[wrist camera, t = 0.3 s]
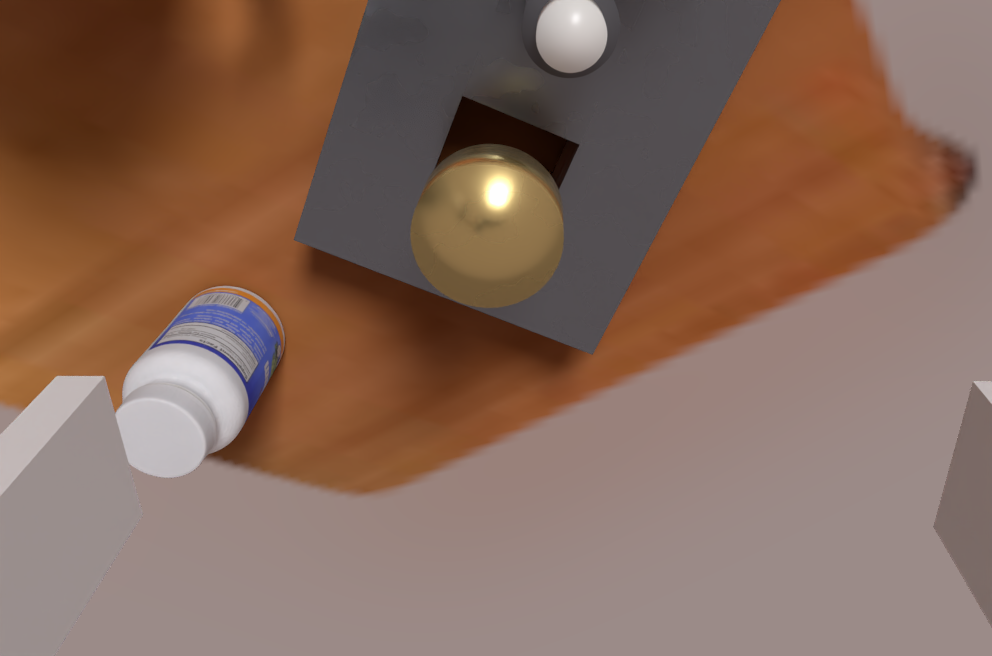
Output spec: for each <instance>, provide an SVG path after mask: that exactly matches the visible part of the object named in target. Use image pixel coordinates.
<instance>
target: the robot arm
mask: <svg viewBox="0 0 992 656" xmlns="http://www.w3.org/2000/svg"><path fill="white" fill-rule="evenodd" d="M142 515H143V513H142V509H141V506H140V502H139V498H138V495H137V491H136V488H135V484H134V480H133V477H132V473H131V470H130V467H129V462H128V459H127V455H126V452H125V448H124V444H123V441H122V437H121V434H120V430H119V426H118V423H117V419H116V416H115V412H114V408H113V405H112V401H111V398H110V394H109V390H108V387H107V383H106V380H105V376H56V377H55V379H54V380H53V381H52V382H51V383H50V384H49V385H48V386H47V387H46V388H45V389H44V390H43V391H42V392H41V393H40V394H39V395H38V396H37V397H36V398H35V399H34V400H33V401H32V402H31V403H30V404H29V406H28V407H27V408H26V409H25V410H24V411H23V412H22V413H21V414H20V415H19V416H18V417H17V418H16V419H15V420H14V421H13V422H12V423H11V424H10V425H9V426H8V428H6V429H5V430H4V432H3V433H2V434H1V435H0V656H55V654H56V653H57V651H58V650H59V648H60V646H61V645H62V643H63V642H64V640H65V639H66V637H67V635H68V634H69V632H70V630H71V629H72V627H73V626H74V624H75V622H76V621H77V619H78V618H79V616H80V614H81V613H82V611H83V610H84V608H85V606H86V605H87V603H88V602H89V600H90V598H91V597H92V595H93V594H94V592H95V590H96V589H97V587H98V585H99V584H100V582H101V581H102V579H103V578H104V576H105V574H106V573H107V571H108V570H109V568H110V566H111V565H112V563H113V562H114V560H115V558H116V557H117V555H118V554H119V552H120V550H121V549H122V547H123V546H124V544H125V542H126V541H127V539H128V538H129V536H130V534H131V533H132V531H133V530H134V528H135V526H136V525H137V523H138V522H139V520H140V518H141V517H142ZM934 529H935V530H936V532H937V534H938V536H939V537H940V539H941V541H942V542H943V544H944V546H945V548H946V549H947V551H948V553H949V554H950V556H951V558H952V560H953V561H954V563H955V565H956V566H957V568H958V570H959V572H960V573H961V575H962V577H963V579H964V580H965V582H966V584H967V585H968V587H969V589H970V591H971V592H972V594H973V596H974V597H975V599H976V601H977V603H978V604H979V606H980V608H981V610H982V611H983V613H984V615H985V616H986V618H987V620H988V622H989V623H990V625H991V627H992V381H973V383H972V387H971V391H970V394H969V398H968V402H967V405H966V409H965V413H964V416H963V420H962V424H961V427H960V431H959V435H958V438H957V442H956V446H955V449H954V453H953V457H952V460H951V464H950V468H949V471H948V476H947V479H946V482H945V486H944V490H943V494H942V497H941V501H940V505H939V508H938V512H937V515H936V519H935V523H934Z"/></svg>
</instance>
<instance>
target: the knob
mask: <svg viewBox="0 0 992 656" xmlns="http://www.w3.org/2000/svg"><path fill="white" fill-rule="evenodd" d="M410 239H411V246H412V251H413V254H414V258H415V260H416V262H417V265H418V266H419V268H420V270H421V272H422V273H423V275H424V276H425V277H426V278H427V280H428V281H429V282H430V283H431V284H432V285H433V286H434V287H435V288H436V289H437V290H439V291H440V292H441V293H443V294H444V295H446V296H448V297H449V298H451V299H453V300H455V301H457V302H460V303H463V304H466V305H469V306H474V307H482V308H498V307H504V306H509V305H512V304H516V303H518V302H521V301H523V300H525V299H527V298H529V297H530V296H532V295H534V294H535V293H536V292H537V291H539V290H540V289H541V288H542V287H543V286H544V285H545V284H546V283H547V282H548V281H549V279H550V278H551V277H552V275H553V274H554V272H555V270H556V269H557V267H558V264H559V262H560V259H561V255H562V251H563V243H564V229H563V205H562V200H561V195H560V192H559V189H558V187H557V185H556V183H555V181H554V179H553V178H552V176H551V175H550V173H549V172H548V171H547V170H546V169H545V167H544V166H543V165H542V164H541V163H539V162H538V161H537V160H536V159H535V158H533V157H532V156H530V155H529V154H527V153H525V152H523V151H521V150H519V149H516V148H513V147H510V146H505V145H500V144H480V145H474V146H470V147H467V148H464V149H461V150H459V151H457V152H455V153H453V154H452V155H450V156H449V157H447V158H446V159H444V160H443V161H442V162H441V163H440V164H439V165H438V166H437V167H436V168H435V169H434V171H433V172H432V173H431V175H430V176H429V178H428V180H427V182H426V184H425V186H424V189H423V191H422V194H421V196H420V199H419V201H418V204H417V206H416V209H415V211H414V214H413V218H412V223H411V233H410Z"/></svg>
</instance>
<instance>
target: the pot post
mask: <svg viewBox="0 0 992 656" xmlns="http://www.w3.org/2000/svg"><path fill="white" fill-rule="evenodd" d="M521 31H522V39H523V43H524V46H525V49H526V51H527V53H528V55H529V56H530V58H531V59H532V60H533V62H534V63H535V64H536V65H537V66H538V67H539V68H541V69H542V70H544V71H545V72H547V73H549V74H551V75H554V76H557V77H561V78H577V77H582V76H585V75H588V74H590V73H592V72H594V71H595V70H597V69H598V68H600V67H601V66H602V65H603V64H604V63H605V62H606V61H607V60H608V59H609V57H610V56H611V54H612V53H613V51H614V49H615V47H616V44H617V42H618V38H619V33H620V17H619V12H618V9H617V6H616V4H615V1H614V0H526V3H525V8H524V13H523V18H522V26H521Z"/></svg>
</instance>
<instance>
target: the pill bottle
mask: <svg viewBox="0 0 992 656" xmlns="http://www.w3.org/2000/svg"><path fill="white" fill-rule="evenodd" d="M284 346H285V334H284V329H283V326H282V323H281V321H280V319H279V317H278V316H277V314H276V313H275V311H274V310H273V309H272V308H271V306H270V305H269V304H268V303H267V302H266V301H265V300H263V299H262V298H261V297H259V296H258V295H256V294H254V293H252V292H250V291H248V290H246V289H243V288H239V287H233V286H218V287H213V288H209V289H206V290H204V291H202V292H200V293H198V294H197V295H195V296H194V297H193V298H192V299H191V300H190V301H189V302H188V303H187V304H186V305H185V306H184V307H183V309H182V310H181V311H180V312H179V313H178V314H177V316H176V317H175V318H174V319H173V320H172V322H171V323H170V324H169V325H168V326H167V327H166V329H165V330H164V331H163V332H162V333H161V334H160V335H159V337H158V338H157V339H156V340H155V341H154V342H153V343H152V344H151V346H150V347H149V348H148V349H147V350H146V351H145V352H144V353H143V355H142V356H141V357H140V358H139V359H138V360H137V361H136V362H135V364H134V365H133V366H132V367H131V369H130V370H129V372H128V374H127V376H126V378H125V381H124V384H123V393H122V397H123V403H122V404H121V406H120V407H119V408H118V410H117V411H116V413H115V416H116V419H117V423H118V426H119V430H120V434H121V437H122V441H123V444H124V448H125V452H126V455H127V459H128V462H129V464H130V465H132V466H133V467H134V468H136V469H138V470H140V471H142V472H144V473H146V474H149V475H152V476H156V477H163V478H175V477H180V476H184V475H186V474H189V473H191V472H192V471H194V470H195V469H196V468H197V467H199V465H200V464H201V463H202V461H203V460H204V459H205V457H206V456H207V455H208V454H210V453H213V452H216V451H218V450H220V449H222V448H224V447H225V446H227V445H228V444H230V443H231V442H232V441H233V440H234V439H235V437H236V436H237V435H238V434H239V432H240V430H241V429H242V427H243V425H244V424H245V422H246V420H247V418H248V417H249V415H250V413H251V411H252V410H253V408H254V406H255V404H256V402H257V401H258V399H259V397H260V395H261V394H262V392H263V390H264V388H265V387H266V385H267V383H268V381H269V380H270V378H271V376H272V374H273V372H274V371H275V369H276V367H277V365H278V364H279V362H280V359H281V357H282V354H283V351H284Z"/></svg>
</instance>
